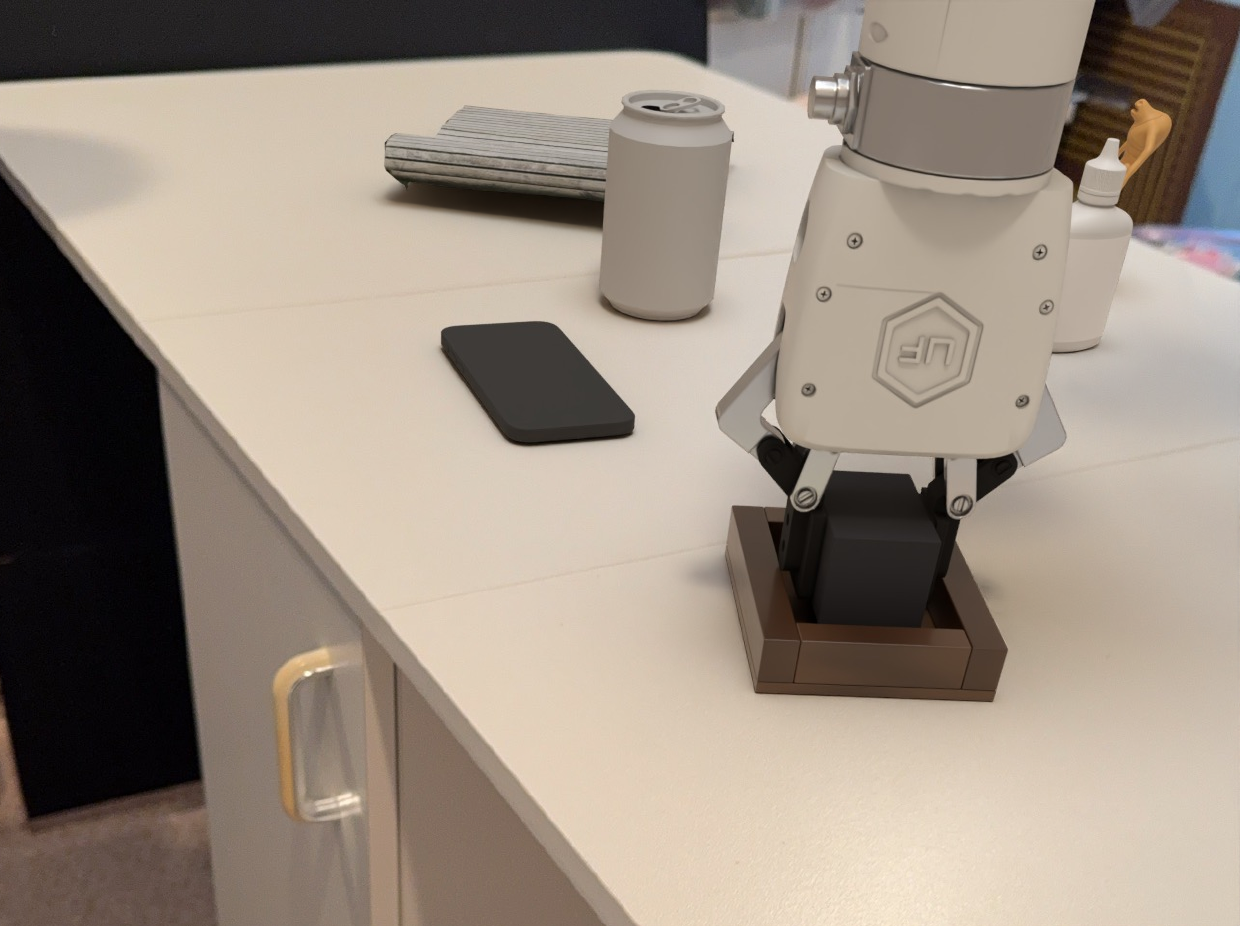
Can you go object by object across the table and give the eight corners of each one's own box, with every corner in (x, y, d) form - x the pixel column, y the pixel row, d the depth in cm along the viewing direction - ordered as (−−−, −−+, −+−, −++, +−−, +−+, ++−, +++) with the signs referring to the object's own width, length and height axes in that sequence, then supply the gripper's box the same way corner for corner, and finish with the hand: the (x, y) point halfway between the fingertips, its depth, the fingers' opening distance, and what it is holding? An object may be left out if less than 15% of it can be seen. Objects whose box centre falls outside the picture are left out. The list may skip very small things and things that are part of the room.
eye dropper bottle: (1107, 359, 92) (1169, 153, 84) (1019, 351, 92) (1072, 144, 84) (1095, 335, 95) (1153, 135, 87) (1009, 327, 95) (1060, 126, 87)
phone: (510, 432, 75) (434, 326, 85) (510, 447, 75) (434, 340, 86) (643, 421, 77) (553, 319, 88) (641, 436, 78) (552, 333, 88)
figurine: (1036, 262, 106) (1083, 79, 98) (1119, 274, 105) (1173, 90, 98) (1036, 297, 100) (1086, 105, 92) (1124, 310, 99) (1183, 117, 91)
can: (580, 289, 95) (591, 85, 87) (682, 281, 98) (702, 82, 90) (626, 329, 90) (643, 116, 82) (732, 320, 92) (758, 112, 85)
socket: (932, 563, 69) (944, 514, 67) (993, 701, 60) (1009, 649, 58) (724, 554, 68) (731, 504, 67) (755, 692, 59) (764, 639, 57)
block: (795, 552, 65) (810, 468, 63) (891, 556, 66) (910, 473, 63) (817, 625, 60) (834, 537, 58) (920, 629, 61) (942, 542, 58)
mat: (732, 164, 121) (740, 102, 118) (692, 247, 104) (699, 177, 101) (465, 131, 124) (466, 69, 121) (381, 206, 106) (379, 136, 103)
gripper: (728, 134, 47) (671, 623, 59) (1222, 167, 49) (1070, 639, 61) (706, 82, 53) (658, 538, 65) (1150, 113, 54) (1023, 554, 66)
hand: (858, 582), depth 63 cm, fingers closed on block, 4 cm apart
